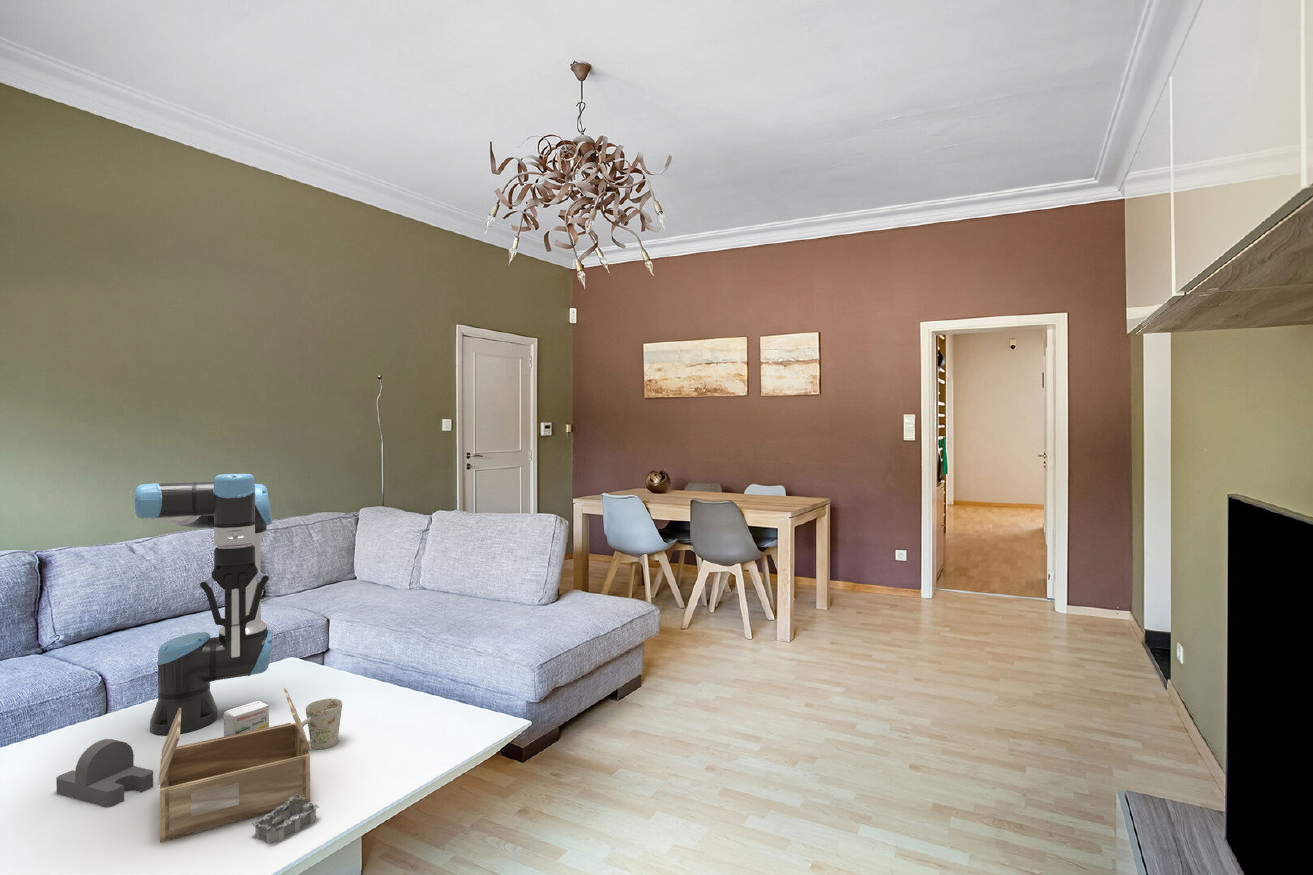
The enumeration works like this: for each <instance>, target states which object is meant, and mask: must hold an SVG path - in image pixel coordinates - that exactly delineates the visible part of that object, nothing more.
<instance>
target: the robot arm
mask: <svg viewBox="0 0 1313 875" xmlns="http://www.w3.org/2000/svg"><path fill="white" fill-rule="evenodd" d="M134 492H135V493H134V511H135V516H137V518H139V519H152V520H154V519H164V520H165V521H166V522H168V523H170V524H173V525H176V526H183V527H187V528H195V529H198V528H199V529H213V538H214V539H213V540H214V541H213V544H214V546H216V547H215V549H214V550H213V556H214V557H213V562H214V563H213V564H214V566H213V570H212V571H211V575H210V576H208V577H207V578H205V579H203V580H200V582H199V586H200V588H201V589H202V590H203V592H204V593H205V594H206V598H207V602H208V606H209V607H210V611H211V614H212V615H211V616H212V618H213V621H214V625H216V626H222V627H221V628H220V629H219V630H218V636H214V637H211V635H210V633H209V632H207V631H202V632H199V631H197V632H191V633H186V634H184V635H180V636H177V637H173V638H171V639H169V640H167V641H165V642H164V643H163V644H161V645H160V646H159V648H158V652H157V662H156V665H157V702H156V704H155V708H154V711H153V713H152V716H151V718H150V721H149V722H150V723H149V731H150V733H152V734H155V735H161V736H163V735H164V736H168V734H169V731H170V729H171V726H172V724H173V721H174V719H175V716H176V714H177V711H178V709H179V708H182V709H181V725H180V734H185V733H188V732H189V733H190V732H193V731H196V730H200V729H202V728H205V727H207V726H210V725H211V724H212V723H214V722H215V721H217V719H218V717H219V716H218V715H219V712H218V706H217V704H216V701H215V699H214V697H213V694H212V692H211V682H213V681H215V682H216V681H222V680H228V679H234V678H242V677H250V676H255V675H259V674H262V673H265V672H266V671H267V670H268V668H269V665H270V660H271V653H272V646H273V638H274V635H273V633H274V632H273V630H272V629H271V630H270V629H268V624H267V623H266V622H265V621H264V620H262V599H261V598H262V594H263V591H264V587H265V586H266V584H267V583H268V581H269V579H270V576H269V574H267V573H262V571H261V567H262V566H261V564H262V563H261V561H262V560H261V537H262V536H263V535H264V534H265V533H266V532H267V531H268V530H267V526H270V525H272V524H273V518H272V517H273V516H272V511H271V504H270V499H269V498H270V497H269V492H268V488H267V486H266V485H264V484H262V483H255V476H254V475H253V474H251V473H226V474H225V473H224V474H218V475H216V476H215V477H214V480H213V481H203V482H202V481H198V482H195V481H194V482H167V483H165V482H164V483H160V482H159V483H158V482H152V483H143V484H142V483H141V484H139V485H138V486H137V487H136V489H135V491H134ZM214 581H215V582H216V584H217V585H218V586H219V587H220V588H221V589H223V590H224V618H223V617H222V616H221V612H220V609H219V607H218V604H217V600H216V597H215V593H214V590H213V588H214Z"/></svg>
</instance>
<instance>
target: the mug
mask: <svg viewBox="0 0 1313 875" xmlns="http://www.w3.org/2000/svg"><path fill="white" fill-rule="evenodd" d="M342 711H343V701H342V700H341V699H339V698H323V699H318V700H316V701H312V702H310V703H309V704H307V705H306V706H305V713H306V714H305V715H306V718H305V719H304V720H302V721H301V723H302V726H303V728H304V727H306V725H307V727H308V733H309V734H308V735H309V740H308V743H309V746H311V747H310V748H312V749H314V750H325V749H329V748H331V747H333V746H335V745H336V744H337V743H338V741H339V735H340V734H339V733H340V726H341V719H342V718H341V717H342Z"/></svg>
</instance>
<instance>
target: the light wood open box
mask: <svg viewBox="0 0 1313 875" xmlns="http://www.w3.org/2000/svg"><path fill="white" fill-rule="evenodd" d="M310 754H311V753H310V750H309V751H308V749H307V747H306V745H305V742H304V740H303V738H302V736H301V734H300V731H299V729H298V727H297V725H296V723H295V722H294V723H292V722H288V723H282V724H277V725H273V726H269V727H268V728H263V729H258V730H253V731H249V732H244V733H239V734H234V735H230V736H225V737H224V736H221V737H216V738H211V739H206V740H202V741H196V742H192V743H188V744H183V745H177V747H176V749H175V752H174V754H173V757H172V759H171V761H170V764H169V766H168V769H167V771H166V774H165V776H164V779H163V781H162V784H161V785H159V842H160V843H162V842H166V841H169V840H173V839H177V838H182V837H185V836H189V835H193V834H195V833H200V832H203V831H207V830H210V829H214V828H218V827H222V826H225V825H229V824H233V823H237V822H240V821H241V822H242V821H245V820H249V819H252V818H255V817H259V816H262V815H263V816H264V815H266V814H269V813H271V812H272V811H274V810H276V808H277V807H280V806H282V805H283V804H284V802H285V801H286V800H287V799H288V798H291V797H292V796H293V795H296V794H298V793H299V795H300V796H301V797H303V798H305V799H306V801H307V804H309V803H311V755H310Z"/></svg>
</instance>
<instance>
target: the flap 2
mask: <svg viewBox="0 0 1313 875" xmlns="http://www.w3.org/2000/svg"><path fill="white" fill-rule="evenodd" d="M283 692H284V694H285V697H286V700H287V703H288V707H289V709H290V712H291V713H290V714H291V716H292V718H293V720H294V723H296V725H297V727H298V729H299V731H300V734H301V736H302V738H303V740H304V742H305V745H306V747H307V749H308V751H309V752H310V751H311V750H312V749H311V747H310V746H311V745H309V743H308V741H309V740H308V738H307V735H306V731H305V730H304V727H303V726H302V723H301V722H302V721H301V719H300V716H299V713H298V712H297V710H296V707H295V705H294V702H293V701H292V698H291V697H290V693H289V692H288V689H287V688H286V687H285V688H283Z"/></svg>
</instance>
